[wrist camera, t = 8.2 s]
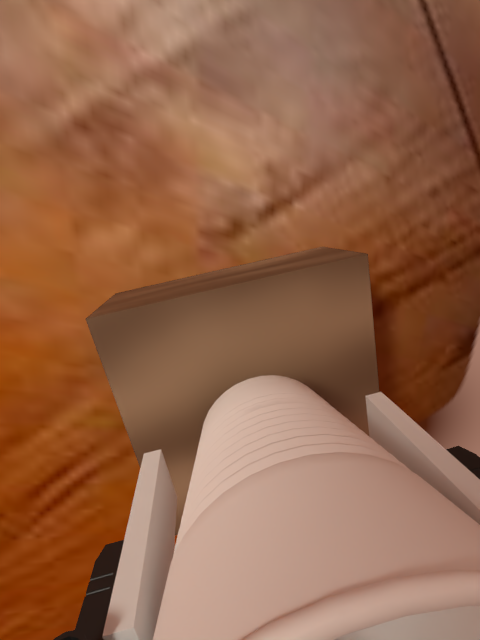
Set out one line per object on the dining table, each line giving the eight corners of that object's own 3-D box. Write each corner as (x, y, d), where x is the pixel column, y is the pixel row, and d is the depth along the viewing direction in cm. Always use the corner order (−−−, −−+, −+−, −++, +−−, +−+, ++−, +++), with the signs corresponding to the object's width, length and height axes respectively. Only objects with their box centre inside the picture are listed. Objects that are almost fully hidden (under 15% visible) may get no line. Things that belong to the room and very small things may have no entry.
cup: (388, 360, 16) (754, 613, 6) (318, 518, 18) (485, 911, 8) (192, 309, 14) (185, 556, 4) (141, 494, 16) (43, 982, 6)
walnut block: (115, 293, 21) (85, 318, 15) (322, 246, 22) (367, 253, 16) (172, 466, 25) (166, 537, 19) (344, 421, 26) (386, 476, 20)
